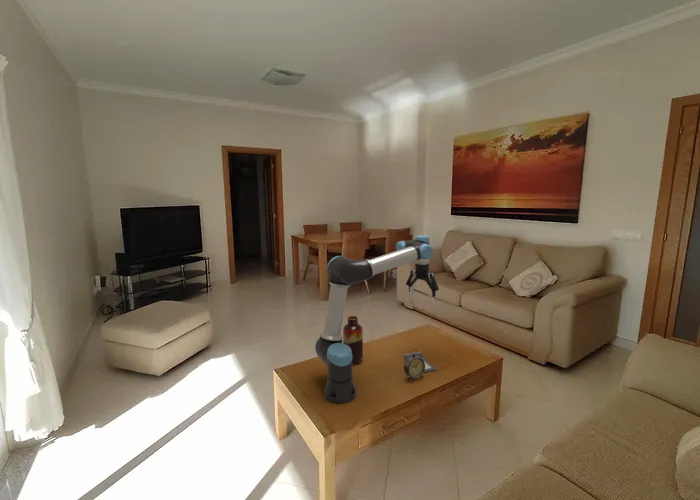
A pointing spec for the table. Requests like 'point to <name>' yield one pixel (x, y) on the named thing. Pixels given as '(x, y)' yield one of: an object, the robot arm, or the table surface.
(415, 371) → the alarm clock
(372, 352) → the table surface
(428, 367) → the mat
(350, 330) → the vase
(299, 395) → the table surface
